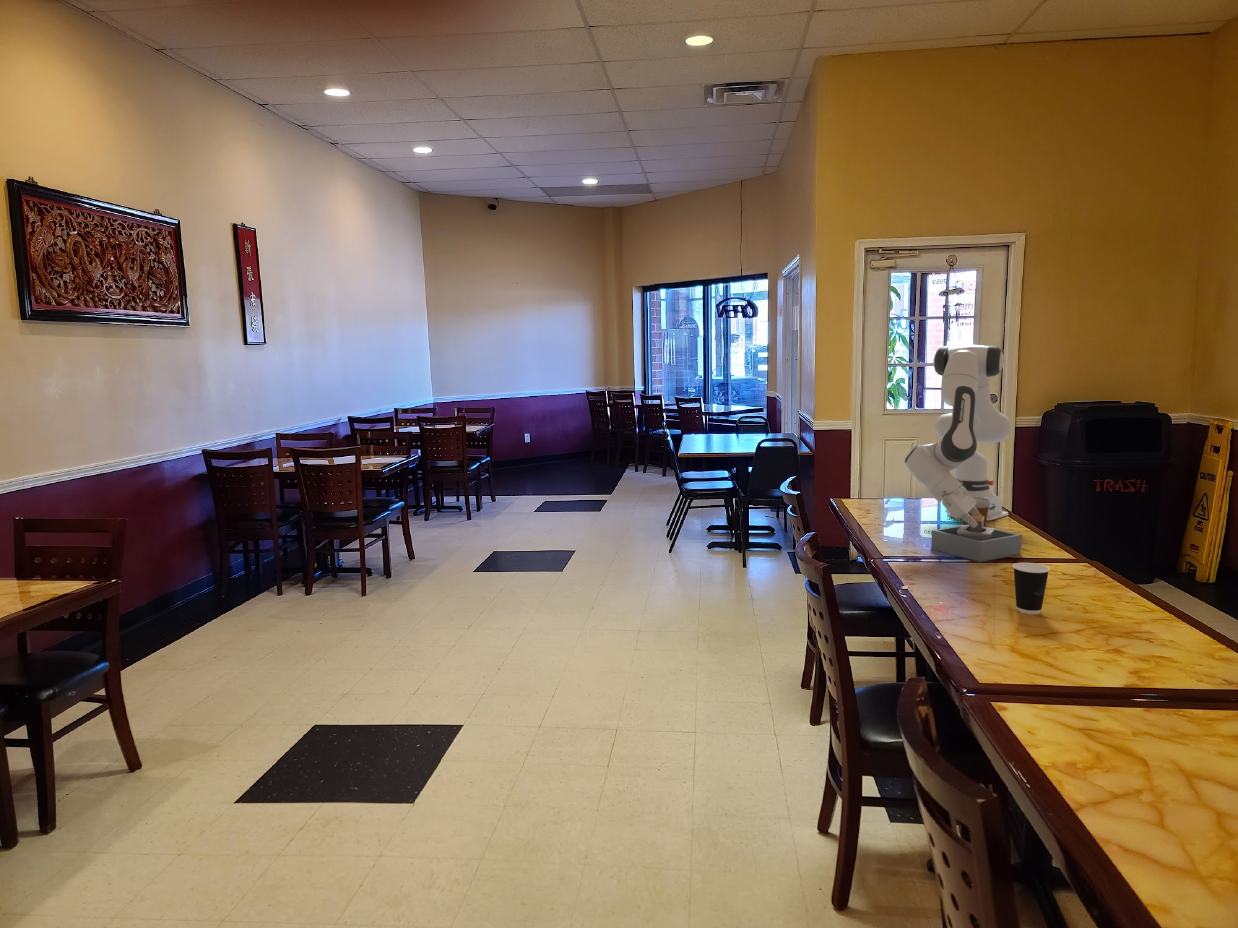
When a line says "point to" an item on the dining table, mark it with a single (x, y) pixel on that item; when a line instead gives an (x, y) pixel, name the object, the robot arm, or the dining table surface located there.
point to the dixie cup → (1030, 586)
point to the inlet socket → (976, 533)
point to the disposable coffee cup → (980, 508)
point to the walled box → (976, 544)
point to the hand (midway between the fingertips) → (978, 523)
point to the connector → (978, 523)
